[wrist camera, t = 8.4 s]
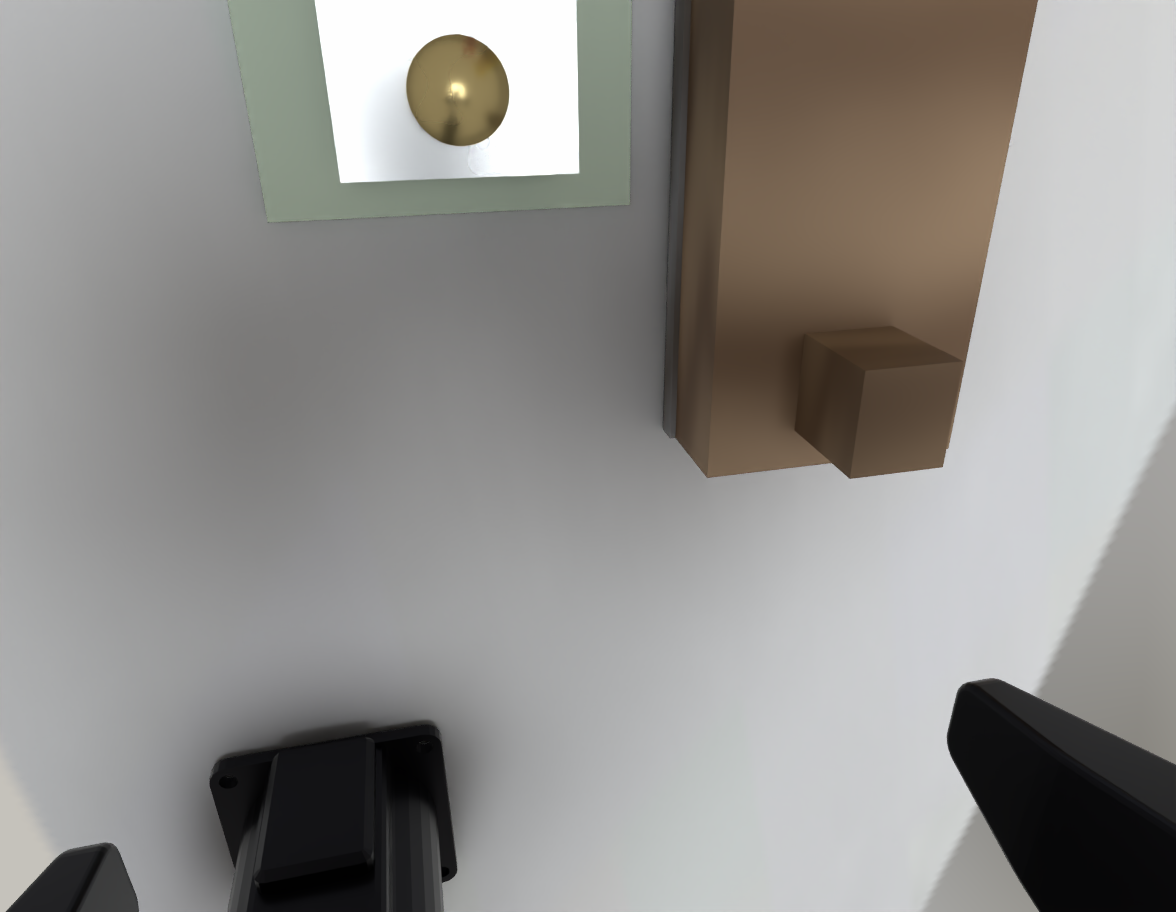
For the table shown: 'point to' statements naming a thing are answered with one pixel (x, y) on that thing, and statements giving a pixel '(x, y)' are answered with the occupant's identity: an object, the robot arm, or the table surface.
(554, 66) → the white block brass knob
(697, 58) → the plane body
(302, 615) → the table surface
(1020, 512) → the table surface
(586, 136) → the felt pad
